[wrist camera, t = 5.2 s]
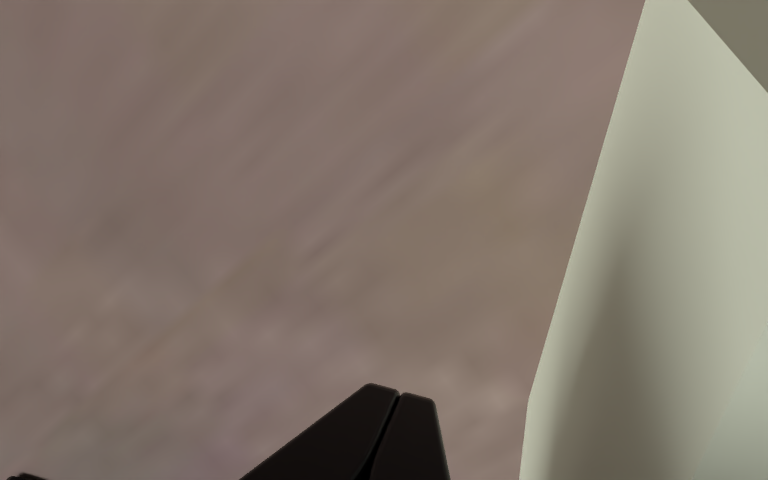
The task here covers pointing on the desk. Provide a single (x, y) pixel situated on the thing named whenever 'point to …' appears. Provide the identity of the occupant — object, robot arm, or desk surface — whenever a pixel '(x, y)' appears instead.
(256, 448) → the desk surface
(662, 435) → the pale smooth panel
